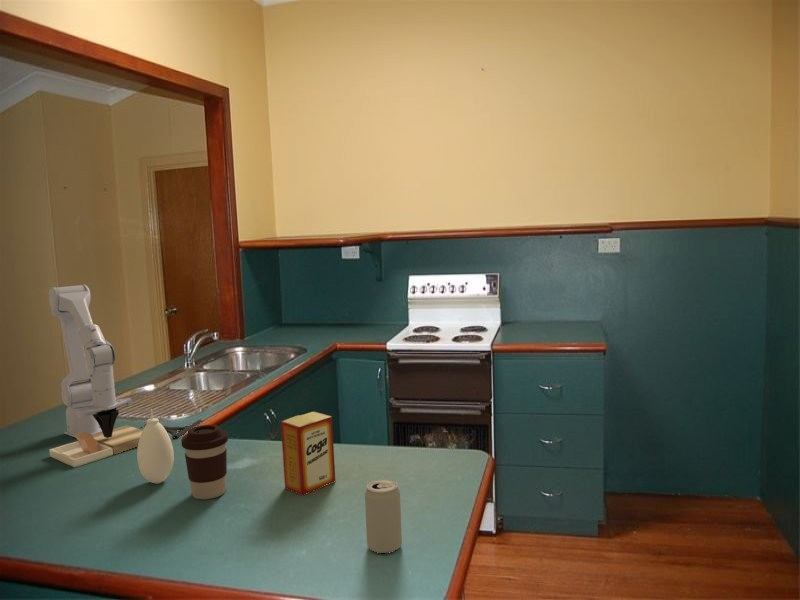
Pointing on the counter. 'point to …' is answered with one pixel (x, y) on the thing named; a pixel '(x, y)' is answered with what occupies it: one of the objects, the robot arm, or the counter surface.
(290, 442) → the baking soda box
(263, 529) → the counter surface
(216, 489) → the coffee cup
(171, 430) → the bracket
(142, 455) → the rubber air blower
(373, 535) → the beverage can
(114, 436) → the large beige panel
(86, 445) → the tile
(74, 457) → the tray
